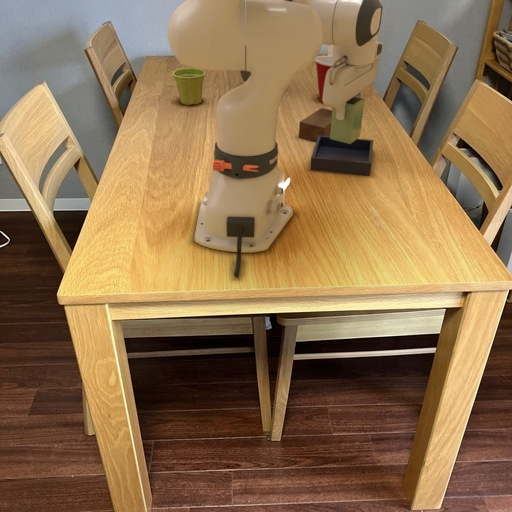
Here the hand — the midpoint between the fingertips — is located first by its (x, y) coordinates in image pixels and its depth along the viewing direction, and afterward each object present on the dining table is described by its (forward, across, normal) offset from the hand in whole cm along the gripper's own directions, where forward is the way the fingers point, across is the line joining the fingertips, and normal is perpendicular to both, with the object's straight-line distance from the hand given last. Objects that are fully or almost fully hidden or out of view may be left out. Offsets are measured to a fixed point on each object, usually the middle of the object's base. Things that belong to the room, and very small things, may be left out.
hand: (347, 114), depth 124 cm
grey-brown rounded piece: (+12, +34, +44) cm, 57 cm away
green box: (+5, 0, +3) cm, 6 cm away
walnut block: (+12, +12, +12) cm, 21 cm away
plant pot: (+12, +11, +55) cm, 57 cm away
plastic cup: (+12, +36, +22) cm, 44 cm away
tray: (+11, 0, 0) cm, 11 cm away
